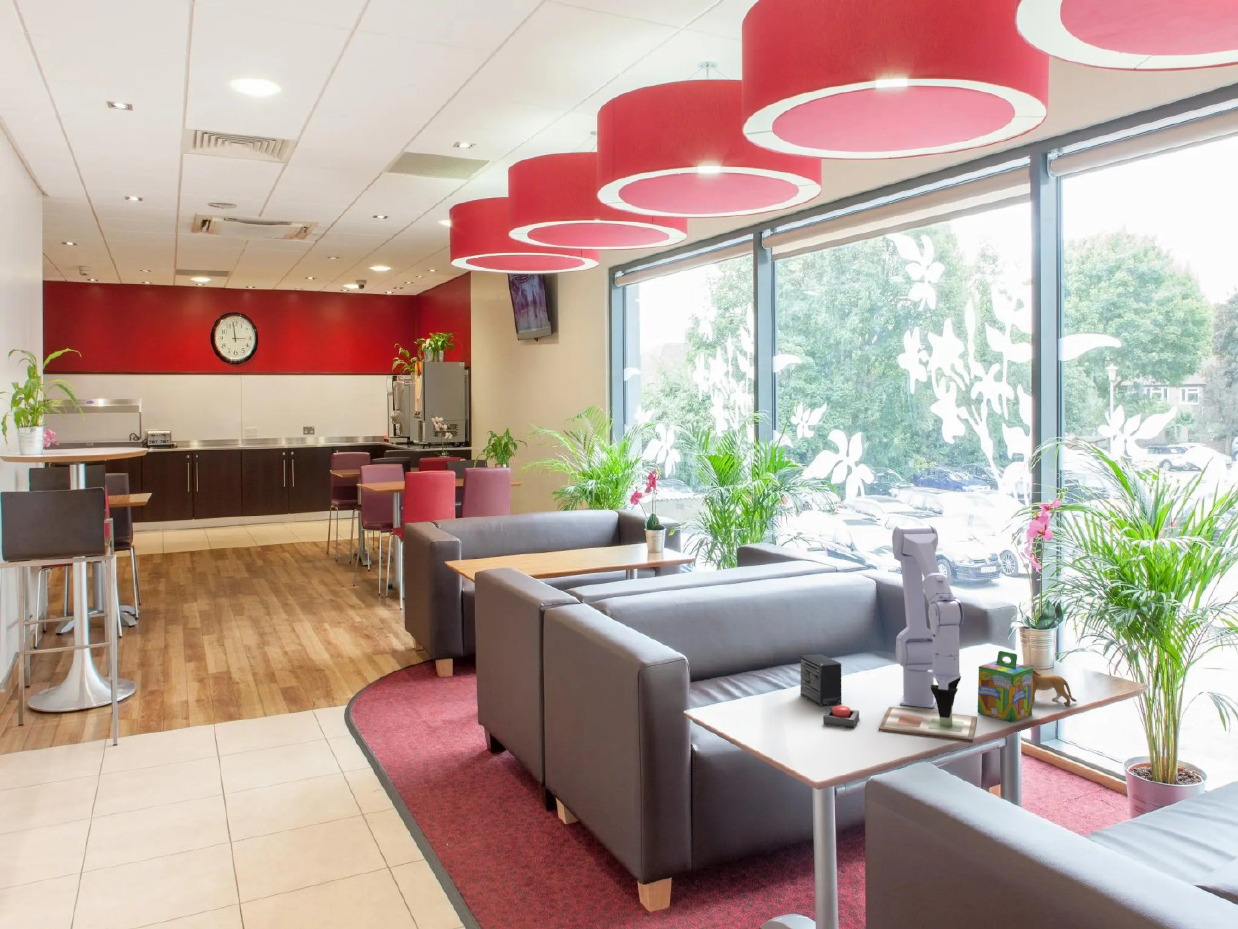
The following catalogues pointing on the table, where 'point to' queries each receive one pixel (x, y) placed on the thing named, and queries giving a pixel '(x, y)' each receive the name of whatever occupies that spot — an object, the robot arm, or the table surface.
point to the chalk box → (1005, 689)
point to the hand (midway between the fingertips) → (946, 712)
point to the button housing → (841, 719)
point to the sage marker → (946, 721)
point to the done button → (841, 711)
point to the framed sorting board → (928, 724)
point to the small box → (820, 679)
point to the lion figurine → (1051, 686)
